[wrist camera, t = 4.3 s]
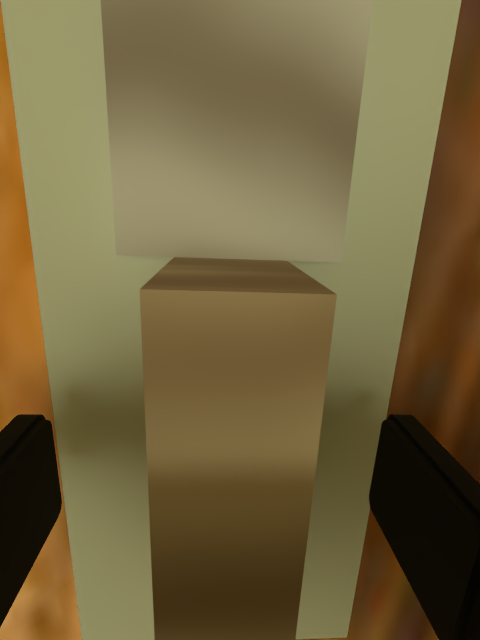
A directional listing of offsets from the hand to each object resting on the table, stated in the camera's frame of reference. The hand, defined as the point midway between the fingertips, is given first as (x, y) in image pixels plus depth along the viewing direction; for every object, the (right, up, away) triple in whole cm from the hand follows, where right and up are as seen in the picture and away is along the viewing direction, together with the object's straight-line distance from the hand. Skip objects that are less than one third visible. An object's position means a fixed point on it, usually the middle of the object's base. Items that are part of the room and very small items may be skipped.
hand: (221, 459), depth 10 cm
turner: (0, +2, +1) cm, 3 cm away
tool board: (0, +2, +2) cm, 3 cm away
